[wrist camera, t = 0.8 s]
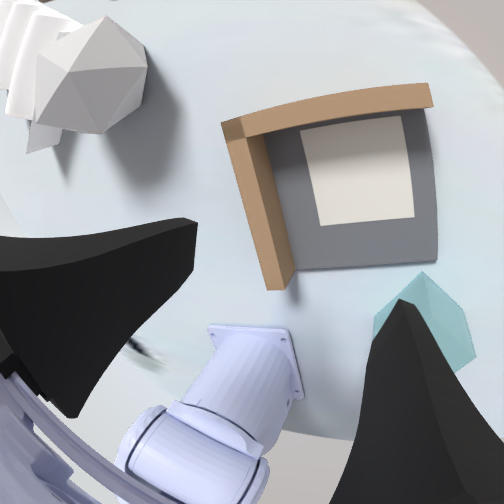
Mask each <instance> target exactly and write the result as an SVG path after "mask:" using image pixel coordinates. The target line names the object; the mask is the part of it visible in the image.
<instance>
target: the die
mask: <svg viewBox="0 0 504 504" xmlns="http://www.w3.org/2000/svg"><path fill="white" fill-rule="evenodd" d="M147 68H148V65H147V61H146V56H145V51H144V46H143V44H142V43H140V42H139V41H138V40H137V39H136V38H134V37H133V36H132V35H131V34H129V33H128V32H127V31H126V30H124V29H123V28H122V27H121V26H119V25H118V24H117V23H115V22H114V21H113V20H111V19H110V18H109V17H107V16H104V17H102V18H100V19H97V20H95V21H93V22H91V23H89V24H87V25H85V26H83V27H81V28H79V29H77V30H75V31H73V32H71V33H69V34H68V35H66V36H64V37H62V38H60V39H59V40H57V41H55V42H54V43H52V44H50V45H49V46H47V47H45V48H44V49H42V50H41V51H39V52H38V53H37V65H36V86H35V113H36V124H41V125H46V126H51V127H56V128H61V129H66V130H71V131H75V132H80V133H88V134H103V133H104V132H105V131H106V130H108V129H109V128H110V127H112V126H113V125H115V124H116V123H117V122H119V121H120V120H121V119H123V118H124V117H126V116H127V115H129V114H130V113H131V112H133V111H134V110H136V109H137V108H139V107H140V106H141V102H142V96H143V90H144V84H145V79H146V73H147Z"/></svg>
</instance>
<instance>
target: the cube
mask: <svg viewBox="0 0 504 504" xmlns="http://www.w3.org/2000/svg"><path fill="white" fill-rule="evenodd" d="M398 299H402V300H404V301H407V302H410V303H412V304H414V305H415V306H416V307H417V309H418V310H419V312H420V313H421V315H422V317H423V318H424V320H425V322H426V324H427V325H428V327H429V329H430V331H431V333H432V335H433V336H434V338H435V340H436V342H437V344H438V346H439V347H440V349H441V351H442V353H443V355H444V356H445V358H446V360H447V362H448V364H449V365H450V367H451V369H452V370H453V372H454V373H455V372H457V371H458V370H459V369H461V368H462V367H464V366H465V365H466V364H468V363H469V362H470V361H472V360H473V359H474V358H476V354H475V350H474V346H473V342H472V338H471V335H470V331H469V328H468V324H467V321H466V318H465V314H464V311H463V309H462V308H461V307H460V306H459V305H458V304H457V303H456V302H455V301H454V300H453V299H452V298H451V297H450V296H449V295H448V294H447V293H445V292H444V291H443V290H442V289H441V288H440V287H439V286H438V285H437V284H436V283H435V282H434V281H433V280H432V279H430V278H429V277H428V276H427V275H426V274H425V273H424V272H423V271H422V272H421V273H420V274H419V275H418V276H417V277H416V278H415V279H414V280H413V281H412V282H411V283H410V284H409V285H408V286H407V287H405V288H404V289H403V290H402V291H401V292H400V293H399V294H398V295H397V296H396V297H395V298H394V299H393V300H392V301H391V302H390V303H388V304H387V305H386V306H385V307H384V308H383V309H382V310H381V311H380V312H378V313H377V314H376V315H375V318H374V332H373V339H374V338H375V336H376V335H377V333H378V332H379V330H380V329H381V327H382V326H383V324H384V322H385V321H386V319H387V317H388V316H389V314H390V313H391V311H392V309H393V308H394V306H395V304H396V302H397V301H398Z"/></svg>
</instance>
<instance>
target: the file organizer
mask: <svg viewBox="0 0 504 504" xmlns="http://www.w3.org/2000/svg"><path fill="white" fill-rule="evenodd" d="M83 26H84V25H82V24H80V23H78V22H76V21H74V20H72V19H71V18H69V17H67V16H65V15H63V14H61V13H59V12H57V11H55V10H52V9H50V8H48V7H46V6H44V5H42V3H41V2H39V1H38V3H37V2H35V1H33V0H0V89H5V90H9V94H8V99H7V105H6V111H5V113H6V114H7V115H9V116H12V117H16V118H22V119H27V120H32V123H31V128H30V133H29V139H28V145H27V152H26V154H28V153H31V152H34V151H37V150H41V149H44V148H47V147H50V146H54V145H57V144H59V143H60V139H61V135H62V131H63V129H61V128H56V127H51V126H46V125H41V124H36V113H35V86H36V65H37V53H38V52H39V51H41V50H42V49H44V48H45V47H47V46H49V45H50V44H52V43H54V42H55V41H57V40H59V39H60V38H62V37H64V36H66V35H68V34H69V33H71V32H73V31H75V30H77V29H79V28H81V27H83Z"/></svg>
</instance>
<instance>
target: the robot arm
mask: <svg viewBox="0 0 504 504" xmlns="http://www.w3.org/2000/svg"><path fill="white" fill-rule="evenodd" d="M197 227H198V223H197V222H195V221H192V220H189V219H186V218H174V219H167V220H162V221H157V222H152V223H147V224H143V225H138V226H133V227H129V228H123V229H118V230H113V231H108V232H103V233H96V234H90V235H81V236H72V237H55V238H18V237H6V236H0V504H101V503H100V502H98V501H97V500H95V499H94V498H93V497H91V496H90V495H89V494H87V493H86V492H85V491H83V490H82V489H81V488H80V487H78V486H77V485H76V484H75V483H73V482H72V481H71V480H70V479H69V477H70V476H71V475H72V474H73V473H74V471H73V469H72V468H71V467H70V466H69V465H68V464H67V463H66V462H65V461H64V460H63V459H62V458H61V457H60V456H59V455H58V454H57V453H56V452H55V451H54V450H53V449H52V448H50V447H49V446H48V445H47V444H46V443H45V442H44V441H43V440H42V439H41V438H40V437H39V436H38V435H36V434H35V433H34V431H33V426H34V424H33V422H34V423H35V424H36V425H37V426H38V427H39V428H40V430H41V431H42V432H43V433H44V434H45V435H46V436H47V437H48V438H49V439H50V440H51V441H52V442H53V443H54V444H55V445H56V446H57V447H58V448H60V450H62V451H63V452H64V453H65V454H66V455H67V456H68V457H69V458H70V459H71V460H73V461H74V462H75V463H76V464H77V465H78V466H79V467H81V468H82V469H83V470H84V471H86V472H87V473H88V474H89V475H90V476H92V477H93V478H94V479H96V480H97V481H98V482H100V483H101V484H102V485H104V486H105V487H106V488H108V489H109V490H110V491H112V492H113V493H115V495H116V497H117V499H118V501H119V503H120V504H256V503H257V502H258V500H259V498H260V497H261V495H262V493H263V491H264V489H265V486H266V484H267V481H268V478H269V473H270V469H269V466H268V462H267V459H265V458H263V457H261V456H262V455H264V454H265V453H267V452H268V451H269V450H270V449H271V448H272V447H273V446H274V444H275V443H276V441H277V439H278V437H279V434H280V432H281V430H282V427H283V425H284V422H285V420H286V417H287V415H288V412H289V410H290V407H291V405H292V402H293V400H294V399H296V400H302V399H303V398H304V392H303V388H302V384H301V380H300V375H299V371H298V367H297V363H296V359H295V354H294V350H293V346H292V342H291V338H290V334H289V332H288V331H287V330H285V329H273V328H251V327H233V326H219V325H209V326H208V328H207V331H208V333H209V336H210V338H211V340H212V343H213V345H214V347H215V349H216V351H215V352H214V354H213V355H212V357H211V358H210V360H209V361H208V362H207V364H206V365H205V367H204V368H203V369H202V371H201V372H200V374H199V375H198V376H197V378H196V379H195V381H194V382H193V383H192V385H191V386H190V388H189V389H188V390H187V392H186V393H185V395H184V396H183V397H182V399H181V400H180V402H178V401H176V400H174V401H173V402H172V403H171V405H170V406H169V408H166V407H164V406H163V405H158V406H156V407H151V408H149V409H147V410H146V411H144V412H143V413H142V414H141V415H140V416H139V417H138V418H137V419H136V421H135V422H134V423H133V424H132V425H131V427H130V428H129V430H128V431H127V433H126V434H125V436H124V438H123V439H122V441H121V444H120V446H119V449H118V455H117V457H116V459H115V462H114V464H112V463H111V462H109V461H108V460H106V459H105V458H104V457H103V456H101V455H100V454H99V453H97V452H96V451H95V450H94V449H92V448H91V447H90V446H89V445H87V444H86V443H85V442H84V441H83V440H82V439H80V438H79V437H78V436H77V435H76V434H75V433H73V432H72V431H71V430H70V429H69V428H68V427H67V426H66V425H65V424H64V423H62V422H61V421H60V420H59V419H58V418H57V417H56V416H55V415H54V414H53V413H52V412H51V411H50V410H49V409H48V408H47V407H46V406H45V405H44V404H43V403H42V402H41V400H40V399H39V398H38V397H37V396H38V395H39V394H40V395H41V396H42V397H43V398H44V399H45V400H46V402H48V401H50V402H51V403H52V404H54V406H55V407H56V408H58V409H59V411H60V412H62V413H63V414H64V415H65V416H66V417H67V418H77V417H78V415H79V413H80V411H81V410H82V408H83V406H84V404H85V402H86V400H87V399H88V397H89V395H90V393H91V391H92V390H93V389H94V387H95V385H96V384H97V382H98V381H99V379H100V378H101V376H102V374H103V373H104V371H105V370H106V369H107V367H108V366H109V364H110V363H111V362H112V360H113V359H114V358H115V356H116V355H117V353H118V352H119V351H120V350H121V348H122V347H123V346H124V345H125V343H126V342H127V341H128V340H129V338H130V337H131V336H132V335H133V334H134V333H135V332H136V331H137V329H138V328H139V327H140V326H141V325H142V324H143V323H144V322H145V321H147V320H148V319H149V318H150V317H151V316H152V315H153V314H154V313H155V312H156V311H157V310H158V309H159V308H160V307H161V306H162V305H163V304H164V303H165V302H166V301H167V300H168V299H169V298H170V297H171V296H172V295H173V294H174V293H175V292H176V291H177V290H178V289H179V288H180V287H181V286H182V284H183V283H184V282H185V281H186V279H187V278H188V277H189V275H190V274H191V273H192V271H193V269H194V257H195V247H196V236H197ZM283 338H284V339H286V340H284V339H283ZM329 504H504V443H503V442H502V441H501V439H500V438H499V437H498V436H497V435H496V433H495V432H494V431H493V430H492V428H491V427H490V426H489V425H488V423H487V422H486V420H485V419H484V418H483V416H482V415H481V414H480V412H479V411H478V410H477V408H476V407H475V405H474V404H473V402H472V401H471V399H470V398H469V396H468V395H467V393H466V392H465V390H464V389H463V387H462V386H461V384H460V382H459V381H458V379H457V377H456V376H455V374H454V372H453V370H452V369H451V367H450V365H449V364H448V362H447V360H446V358H445V356H444V355H443V353H442V351H441V349H440V347H439V346H438V344H437V342H436V340H435V338H434V336H433V335H432V333H431V331H430V329H429V327H428V325H427V324H426V322H425V320H424V318H423V317H422V315H421V313H420V312H419V310H418V309H417V307H416V306H415V305H414V304H412V303H410V302H407V301H404V300H402V299H398V301H397V302H396V304H395V306H394V308H393V309H392V311H391V313H390V314H389V316H388V317H387V319H386V321H385V322H384V324H383V326H382V327H381V329H380V330H379V332H378V333H377V335H376V336H375V338H374V339H373V341H372V345H371V349H370V353H369V358H368V362H367V366H366V374H365V383H364V390H363V398H362V405H361V412H360V418H359V424H358V429H357V433H356V437H355V440H354V443H353V446H352V449H351V453H350V455H349V458H348V461H347V464H346V467H345V469H344V472H343V474H342V477H341V479H340V481H339V484H338V486H337V488H336V490H335V492H334V494H333V497H332V499H331V501H330V503H329Z"/></svg>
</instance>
